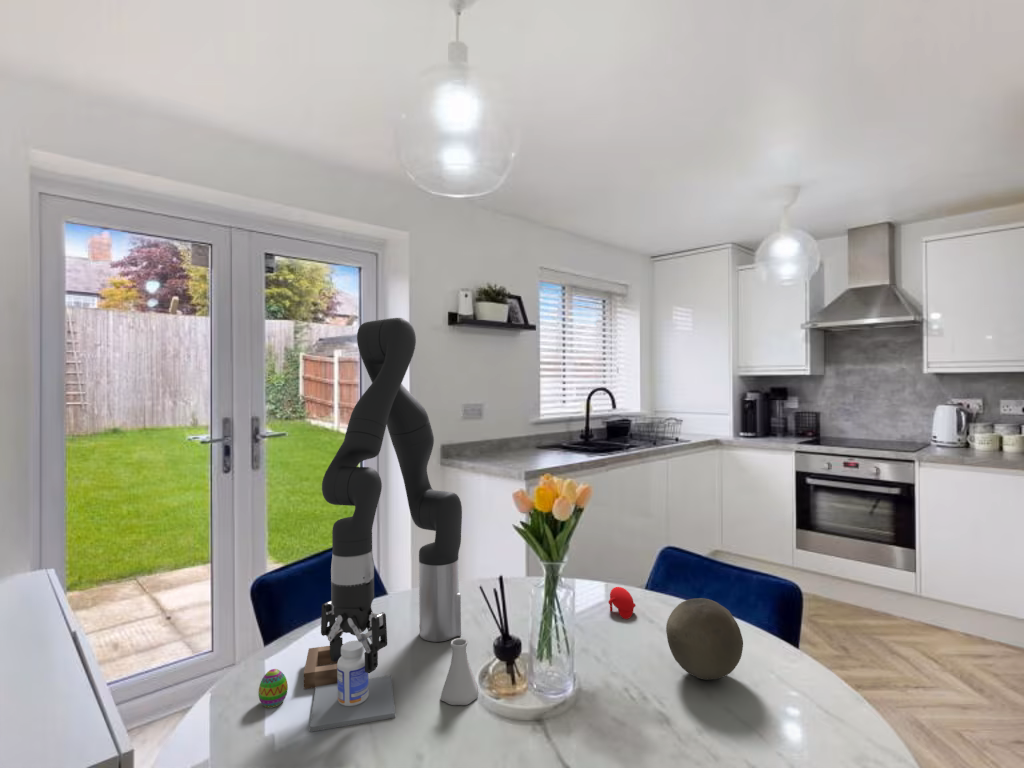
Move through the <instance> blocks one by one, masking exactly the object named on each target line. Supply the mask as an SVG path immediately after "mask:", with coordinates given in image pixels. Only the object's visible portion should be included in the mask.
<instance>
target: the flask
mask: <svg viewBox="0 0 1024 768" xmlns="http://www.w3.org/2000/svg"><path fill="white" fill-rule="evenodd" d="M468 643H469V641H468V639H466V638H462V637H459V638H456V637H455V638H453V639H451V641H450V648H451V660H450V664H449V667H448V669H449V670H448V673H447V675H446V678H445V681H444V684H443V687H442V691H441V696H440V698H439V700H440V701H441V702H445V703H446V704H448V705H450V706H468V705H469V704H471V703H472V702H473V701H475V700H477V699H478V698H479V692H478V688H479V685H478V683H477V681H476V678H475V676H474V673H473V670H472V668H471V666H470V663H469V659H468V658H469V657H468V652H467V646H468Z"/></svg>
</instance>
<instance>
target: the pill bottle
mask: <svg viewBox="0 0 1024 768" xmlns="http://www.w3.org/2000/svg"><path fill="white" fill-rule="evenodd" d="M342 644H343V645H342V646H341V657H340V658H339V660H338V662H337V663H336V664H337V682H338V701H339V703H340V704H341V705H344V706H355V705H358V704H360V703H362V702H364V701H365V700H366V699H367V698H368V695H369V687H368V679H369V673H366V672H365V651H364V650H365V648H364V646H363V644H362V643H361V642H359V641H358V640H350V641H347V642H345V643H342Z"/></svg>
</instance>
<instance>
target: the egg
mask: <svg viewBox="0 0 1024 768" xmlns="http://www.w3.org/2000/svg"><path fill="white" fill-rule="evenodd" d="M288 686H289V685H288V680H287V677H286V675H285V674H284V672H282V670H279V669H277V668H272V669H270V670H268V671H267V672H266V673H265V674H264V675H263V677H262V679H261V680H260V683H259V687H258V699H259V702H260V704H261V705H262V706H263V707H265V708H267V709H268V708H269V709H270V708H275V707H278V706H280V705H281V704H282V703H283V702H284V701H285V699H286V696H287V694H288V689H289V687H288Z"/></svg>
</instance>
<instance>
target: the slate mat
mask: <svg viewBox="0 0 1024 768" xmlns="http://www.w3.org/2000/svg"><path fill="white" fill-rule="evenodd" d="M368 687H369V695H368V698H367V699H366V700H365V701H364V702H362V703H360V704H358V705H355V706H344V705H341V704H340V703H339V701H338V683H336V684H330V685H323V686H316V688H314V689H315V690H314V691H315V692H314V697H313V703H312V708H311V716H310V722H309V723H310V724H309V732H310V733H312V732H317V731H323V730H329V729H334V728H341V727H347V726H352V725H353V726H354V725H358V724H364V723H370V722H377V721H382V720H387V719H388V720H389V719H394V718H396V709H395V707H396V706H395V701H394V700H395V699H394V690H393V680H392V674H391V675H384V676H378V677H370V678H368Z"/></svg>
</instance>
